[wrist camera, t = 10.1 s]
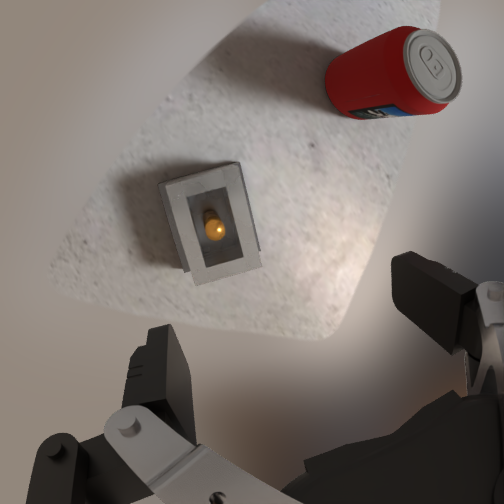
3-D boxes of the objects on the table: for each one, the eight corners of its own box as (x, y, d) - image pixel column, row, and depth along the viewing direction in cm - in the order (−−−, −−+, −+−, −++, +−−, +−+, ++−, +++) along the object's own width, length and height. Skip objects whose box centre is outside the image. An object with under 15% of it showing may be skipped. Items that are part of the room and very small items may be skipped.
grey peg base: (158, 183, 26) (152, 190, 21) (237, 161, 27) (250, 164, 22) (184, 268, 29) (184, 293, 24) (258, 247, 30) (273, 268, 25)
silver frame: (167, 181, 25) (165, 186, 22) (231, 164, 26) (238, 166, 23) (194, 270, 28) (195, 286, 25) (253, 253, 29) (262, 266, 25)
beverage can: (354, 134, 28) (440, 134, 17) (306, 82, 26) (379, 48, 15) (392, 94, 28) (479, 81, 16) (350, 43, 25) (428, 5, 14)
